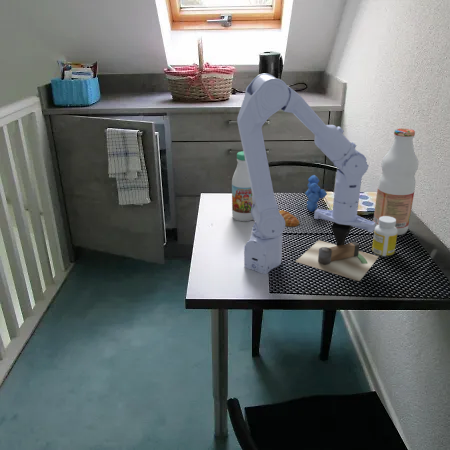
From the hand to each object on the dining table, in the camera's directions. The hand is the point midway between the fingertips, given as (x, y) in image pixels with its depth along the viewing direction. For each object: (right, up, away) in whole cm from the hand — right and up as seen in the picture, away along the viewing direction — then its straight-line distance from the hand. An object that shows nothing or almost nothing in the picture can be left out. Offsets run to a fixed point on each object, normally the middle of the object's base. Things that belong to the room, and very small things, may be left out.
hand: (340, 250), depth 109 cm
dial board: (-1, -3, -1) cm, 3 cm away
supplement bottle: (+11, -1, +2) cm, 11 cm away
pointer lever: (-1, -2, -2) cm, 3 cm away
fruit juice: (+18, +5, +15) cm, 24 cm away
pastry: (-12, +6, +20) cm, 24 cm away
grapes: (-1, +10, +27) cm, 29 cm away
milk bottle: (-23, +9, +25) cm, 35 cm away
